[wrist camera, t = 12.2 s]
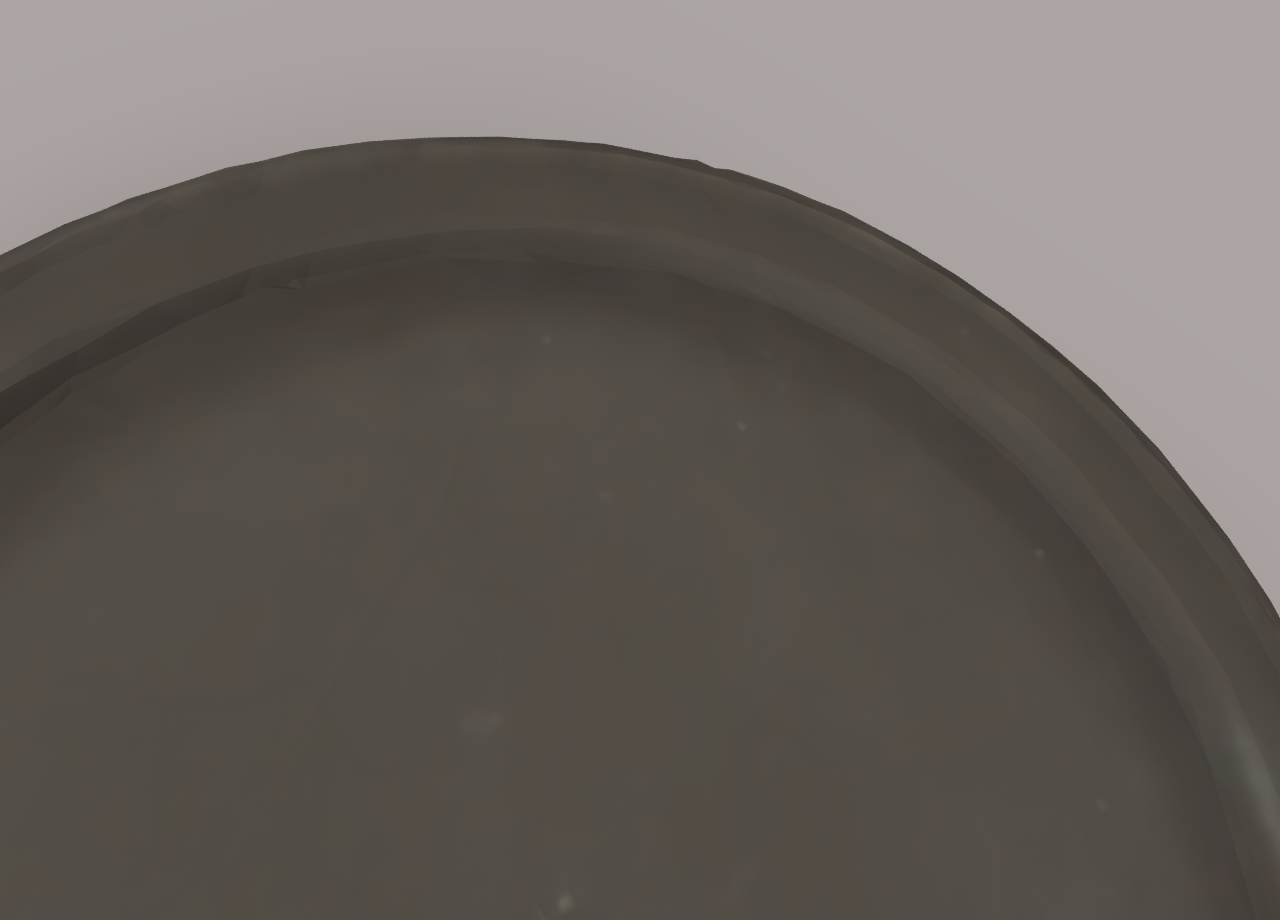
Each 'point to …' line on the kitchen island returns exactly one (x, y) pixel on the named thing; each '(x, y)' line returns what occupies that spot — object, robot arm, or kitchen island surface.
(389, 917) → the coffee can
